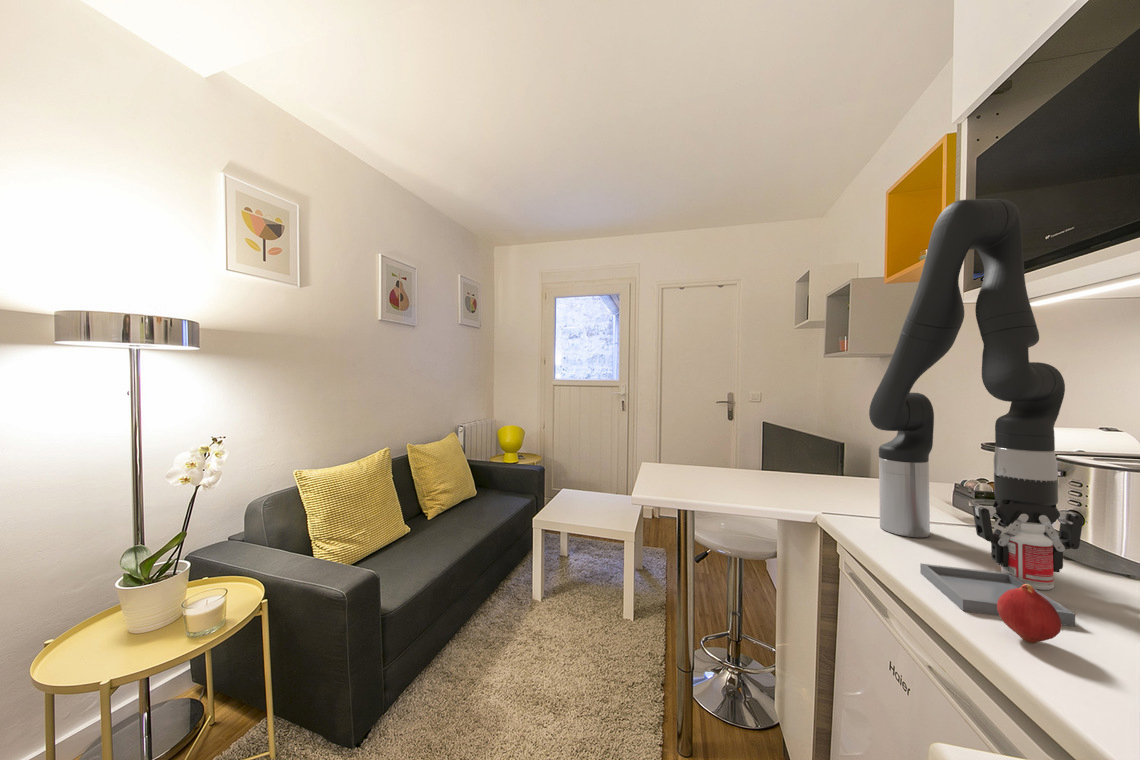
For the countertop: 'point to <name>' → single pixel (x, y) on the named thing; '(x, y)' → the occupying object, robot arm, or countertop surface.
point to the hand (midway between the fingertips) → (1026, 567)
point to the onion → (1029, 614)
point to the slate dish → (980, 589)
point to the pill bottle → (1031, 556)
